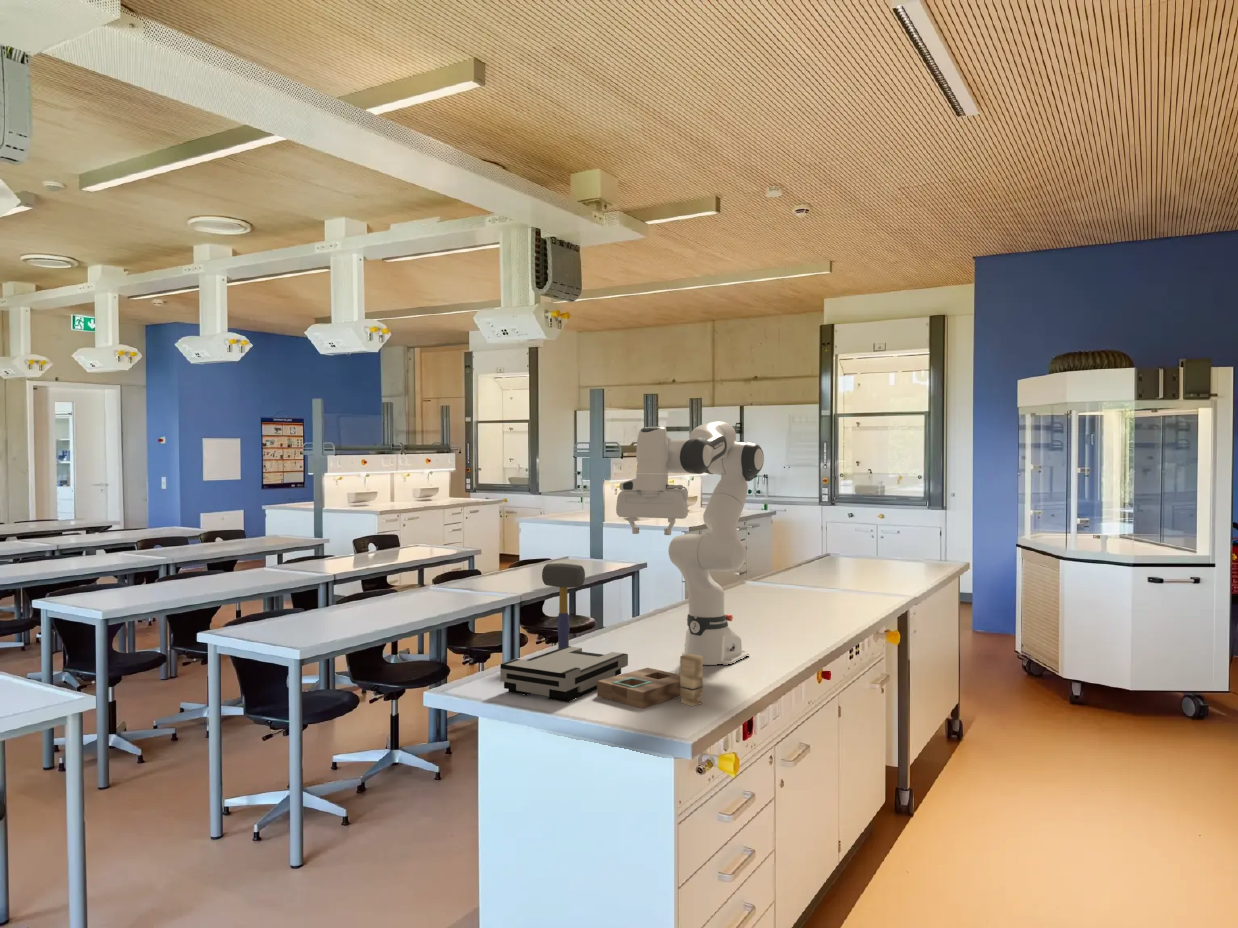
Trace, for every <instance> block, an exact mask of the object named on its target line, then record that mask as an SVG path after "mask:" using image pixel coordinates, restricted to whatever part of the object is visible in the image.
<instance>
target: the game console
mask: <svg viewBox="0 0 1238 928" xmlns="http://www.w3.org/2000/svg"><path fill="white" fill-rule="evenodd" d="M628 666H629V654H628V653H625V652H616V651H611V652H608V653H606V654H601V653H595V652H594V653H593V652H587V651H583V648H582V647H578V646H570V645H569V646H566V647H563V648H560V649H558V648H557V649H554V650H552V651H548V652H545V653H542V654H540V655H536V656H534V657H531V658H528V659H519V658H515V659H512V660H508V661H506V662H505V661H504V662H502V663H500V672H499V673H500V677H499V678H500V682H502V683H503V689H506V690H507V689H508V693H510V692H511V693H512V694H516V695H522V694H525V695H524V696H528V695H527V694H529V695H531V694H535V695H541V696H547V697H548V700H551V699H552V700H551V701H558V702H563V703H570V702H572V701H574V700H573V699H575V698H577V699H579V698H582V697H583V695H584V696H586V695H589V694H590V693H593V692H594V691H595V692H596V691H597V681H599V680H603V679H606V678H610V677H614V676H618V675H622V669H623V668H626V667H628ZM511 693H510V694H511ZM585 694H586V695H585ZM575 700H576V699H575Z"/></svg>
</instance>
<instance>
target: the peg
mask: <svg viewBox="0 0 1238 928" xmlns="http://www.w3.org/2000/svg"><path fill="white" fill-rule="evenodd" d="M679 663H680V664H679V665H680V670H679V672H680V674H679V675H680V697H681V704H682V703H683V705H687V706H691V707H695V706H698V705H700V703H701V704H702V696H703V689H704V687H703V686H704V685H703V677H704V676H703V675H704V674H703V671H704V670H703V669H704V668H703V667H704V666H703V656H699V655H694V654H687V655H683V656H682V655H680V662H679Z"/></svg>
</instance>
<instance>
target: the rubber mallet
mask: <svg viewBox="0 0 1238 928" xmlns="http://www.w3.org/2000/svg"><path fill="white" fill-rule="evenodd" d="M585 578H586V572H585V569H584V566H582V565H581V564H580V565H579V564H573V563H559V562H558V563H547V564H545V565H544V566H543V568H542V571H541V579H542V582H543V584H544V585H546V586H548V587H555V588H559V596H558V597H559V607H558V609H559V613H558V615H557V617H558V618H557V625H556V627H557V636H558V637H557V638H558V642H557V643H558V644H557V645H558V646H557V649H560V648H563V647H566V646H570V645H569V638H570V637H569V635H570V630H571V629H570V615H569V612H568V609H569V608H568V588H580V587H581V588H582V586H583V585H584V583H585Z"/></svg>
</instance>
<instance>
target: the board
mask: <svg viewBox="0 0 1238 928" xmlns="http://www.w3.org/2000/svg"><path fill="white" fill-rule="evenodd" d="M596 692H597V693H596V694H597V695H596V696H597V697H599V698H603V699H607V700H609V701H613V702H617V703H622V704H624V705H629V706H632V707H636V708H639V709H645V708H648V707H651V706H654V705H658V704H660V703H664V702H668V701H670V700H674V699H677V698H680V697H681V696H680V674H678V673H673V672H669V671H666V670H665V671H664V670H660V669H656V668H650V667H645V668H642V669H641V668H640V669H637V670H633V671H630V672H625V673H621V674H619V675H617V676H614V677H610V678H606V679H603V680H599V681H597V690H596ZM673 698H674V699H673Z"/></svg>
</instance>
